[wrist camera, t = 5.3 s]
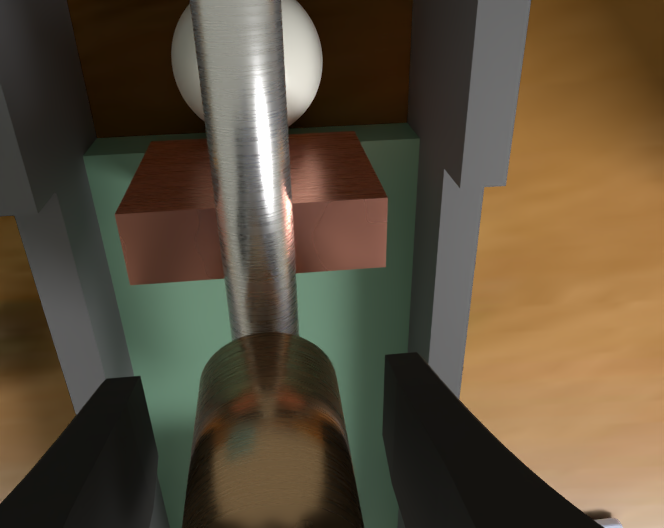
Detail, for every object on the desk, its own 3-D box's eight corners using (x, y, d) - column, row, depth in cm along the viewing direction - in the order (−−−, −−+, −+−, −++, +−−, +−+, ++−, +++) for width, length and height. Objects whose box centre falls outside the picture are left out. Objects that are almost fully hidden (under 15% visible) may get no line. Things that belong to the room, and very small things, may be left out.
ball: (326, -35, 12) (313, -14, 15) (148, -30, 11) (173, -10, 15) (333, 142, 13) (319, 126, 16) (170, 150, 13) (190, 132, 16)
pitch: (428, 503, 25) (466, 626, 21) (140, 535, 24) (114, 671, 20) (496, -211, 13) (617, -283, 9) (-66, -212, 12) (-249, -295, 8)
